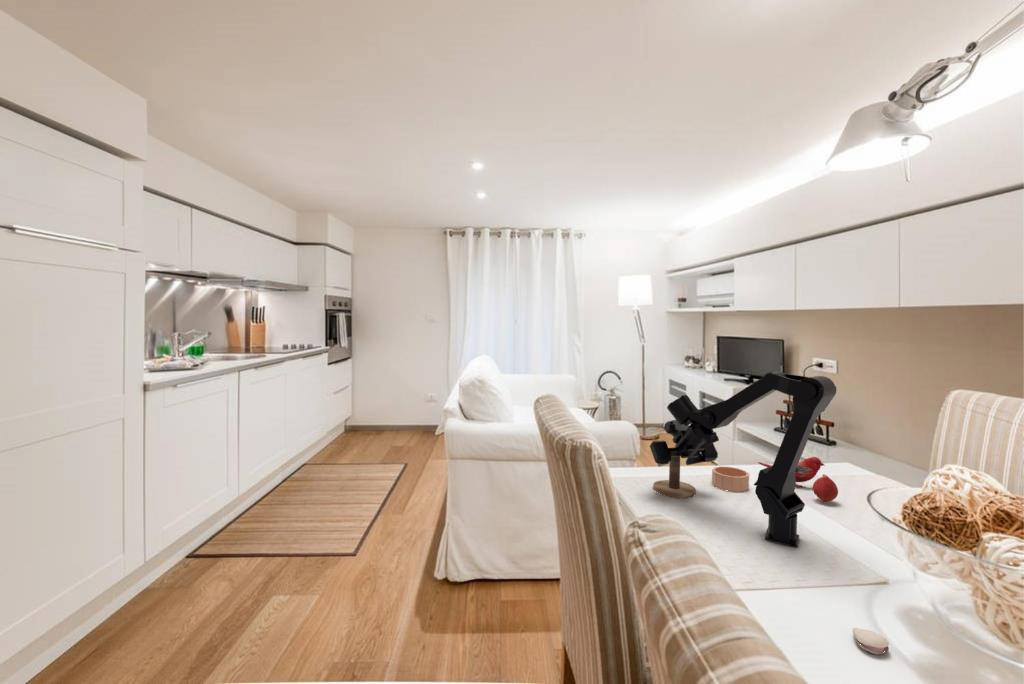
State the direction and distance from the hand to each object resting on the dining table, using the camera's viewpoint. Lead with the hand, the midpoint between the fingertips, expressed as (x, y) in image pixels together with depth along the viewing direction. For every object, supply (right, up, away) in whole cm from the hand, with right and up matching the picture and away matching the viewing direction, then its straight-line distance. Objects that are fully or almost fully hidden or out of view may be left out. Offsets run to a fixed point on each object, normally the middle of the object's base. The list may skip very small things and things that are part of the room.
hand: (672, 464), depth 136 cm
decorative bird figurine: (+37, -8, +4) cm, 38 cm away
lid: (0, -8, -1) cm, 8 cm away
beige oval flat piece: (+7, -11, -65) cm, 67 cm away
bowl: (+19, -8, +3) cm, 21 cm away
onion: (+40, -8, -9) cm, 42 cm away
